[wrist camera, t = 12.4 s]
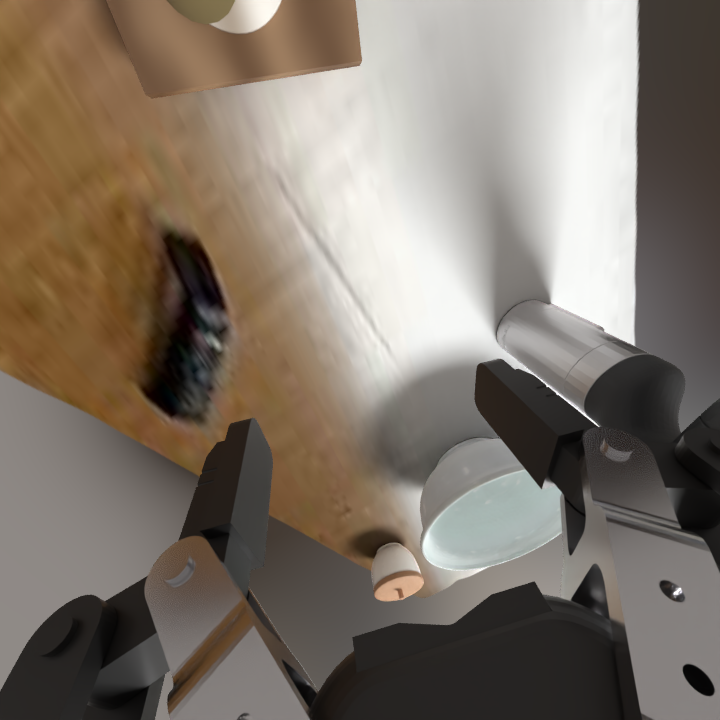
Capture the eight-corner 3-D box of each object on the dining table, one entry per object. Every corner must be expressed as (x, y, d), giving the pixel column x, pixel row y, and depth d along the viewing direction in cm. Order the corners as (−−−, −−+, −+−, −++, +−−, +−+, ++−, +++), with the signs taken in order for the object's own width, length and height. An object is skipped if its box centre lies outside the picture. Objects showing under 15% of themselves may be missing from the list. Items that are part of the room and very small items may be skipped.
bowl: (390, 515, 69) (410, 586, 57) (408, 412, 53) (442, 481, 41) (508, 496, 75) (549, 557, 63) (558, 399, 59) (627, 456, 47)
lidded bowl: (358, 551, 76) (367, 602, 66) (400, 530, 74) (415, 580, 65) (379, 566, 82) (389, 615, 73) (418, 548, 81) (434, 595, 72)
